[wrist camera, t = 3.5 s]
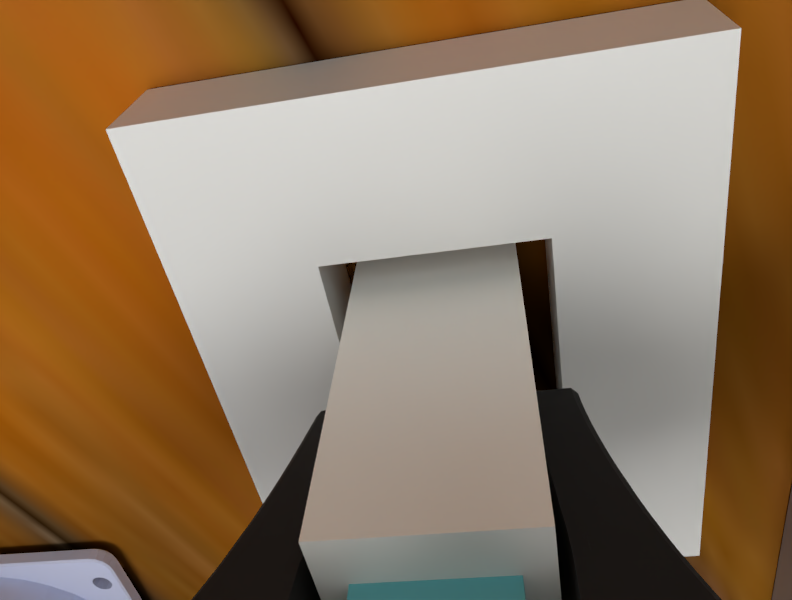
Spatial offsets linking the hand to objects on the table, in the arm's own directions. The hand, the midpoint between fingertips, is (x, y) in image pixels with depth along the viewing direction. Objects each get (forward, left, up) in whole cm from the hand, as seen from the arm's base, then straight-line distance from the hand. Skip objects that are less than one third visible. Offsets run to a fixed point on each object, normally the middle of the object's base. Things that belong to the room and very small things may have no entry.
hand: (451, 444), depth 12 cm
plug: (0, 0, -3) cm, 2 cm away
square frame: (0, 0, -3) cm, 3 cm away
